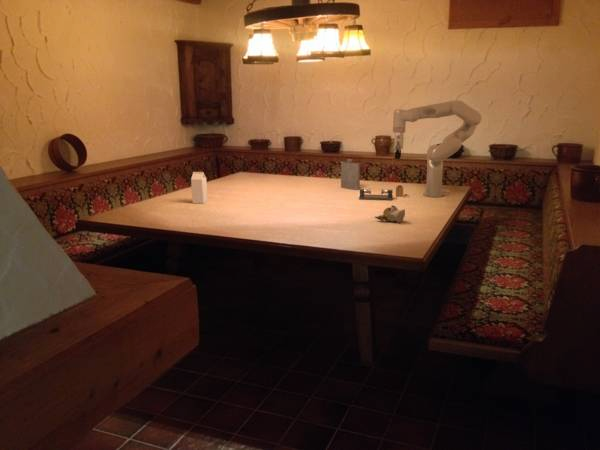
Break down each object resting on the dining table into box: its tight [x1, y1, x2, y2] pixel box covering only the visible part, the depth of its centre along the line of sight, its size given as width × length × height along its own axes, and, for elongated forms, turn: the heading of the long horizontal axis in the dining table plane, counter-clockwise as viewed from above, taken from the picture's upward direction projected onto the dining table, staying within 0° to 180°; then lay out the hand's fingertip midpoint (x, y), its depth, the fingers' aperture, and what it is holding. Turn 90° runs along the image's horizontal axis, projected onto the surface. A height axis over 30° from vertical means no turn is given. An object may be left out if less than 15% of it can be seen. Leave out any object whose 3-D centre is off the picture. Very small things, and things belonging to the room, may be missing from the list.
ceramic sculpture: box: [374, 205, 406, 224], centre depth 274 cm, size 11×9×15 cm
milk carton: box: [190, 171, 209, 205], centre depth 325 cm, size 7×7×19 cm
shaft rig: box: [358, 188, 394, 201], centre depth 327 cm, size 20×9×6 cm, turn 78°
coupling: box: [395, 184, 404, 198], centre depth 332 cm, size 4×4×7 cm
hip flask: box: [340, 158, 361, 191], centre depth 358 cm, size 16×4×20 cm, turn 43°
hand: (397, 157), depth 329 cm, fingers open, 9 cm apart
